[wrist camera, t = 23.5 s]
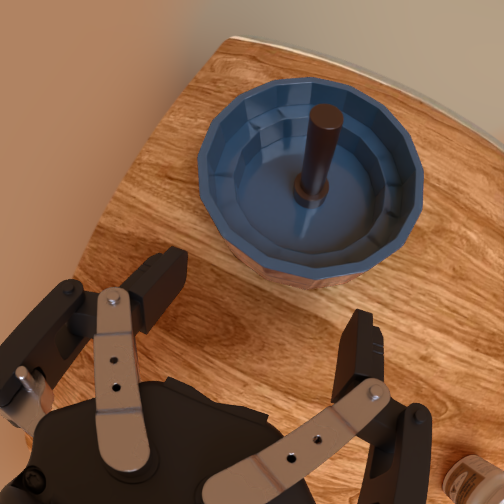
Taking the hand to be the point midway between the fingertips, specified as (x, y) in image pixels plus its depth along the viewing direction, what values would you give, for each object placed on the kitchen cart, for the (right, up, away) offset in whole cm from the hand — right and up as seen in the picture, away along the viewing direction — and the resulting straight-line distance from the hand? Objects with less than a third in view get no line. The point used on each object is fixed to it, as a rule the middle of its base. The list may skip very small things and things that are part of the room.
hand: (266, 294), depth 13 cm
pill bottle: (+18, -18, +2) cm, 25 cm away
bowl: (+3, +6, +8) cm, 11 cm away
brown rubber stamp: (+4, +6, +8) cm, 10 cm away
